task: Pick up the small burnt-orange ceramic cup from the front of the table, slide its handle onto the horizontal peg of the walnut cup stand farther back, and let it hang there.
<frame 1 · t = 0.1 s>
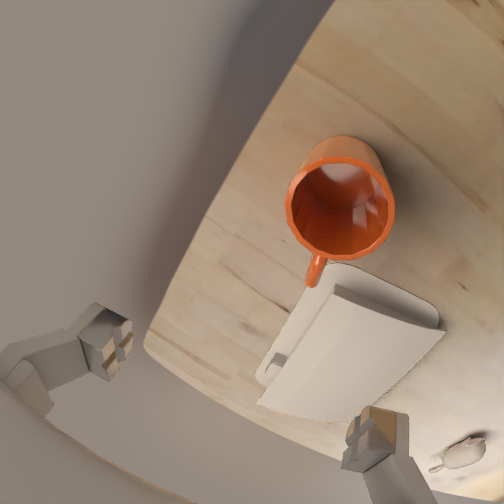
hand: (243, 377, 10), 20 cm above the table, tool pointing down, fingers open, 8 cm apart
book: (339, 354, 35), on the table
cream rounded piece: (458, 445, 39), on the table
cup: (343, 174, 25), on the table
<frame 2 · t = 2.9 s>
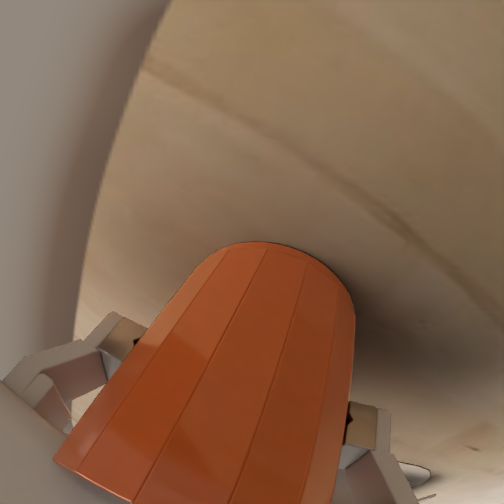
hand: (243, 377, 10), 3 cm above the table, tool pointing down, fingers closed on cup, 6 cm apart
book: (289, 490, 22), on the table
cup: (268, 318, 12), on the table, touching gripper
when the fingers open (11 cm above the table, at t = 12.1 s): cup moves 9 cm and tips over, resting on stand.
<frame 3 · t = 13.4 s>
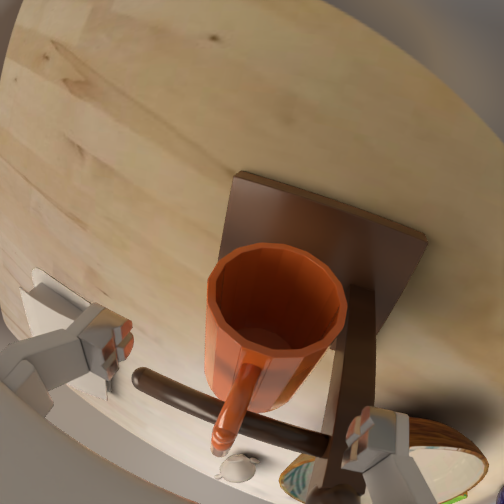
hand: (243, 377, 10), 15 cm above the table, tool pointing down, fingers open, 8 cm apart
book: (72, 337, 43), on the table
bowl: (388, 436, 33), on the table
stand: (298, 265, 25), on the table
cream rounded piece: (241, 459, 46), on the table
cup: (253, 367, 21), point 8 cm above the table, tilted 77°, touching stand
game box: (416, 499, 42), on the table
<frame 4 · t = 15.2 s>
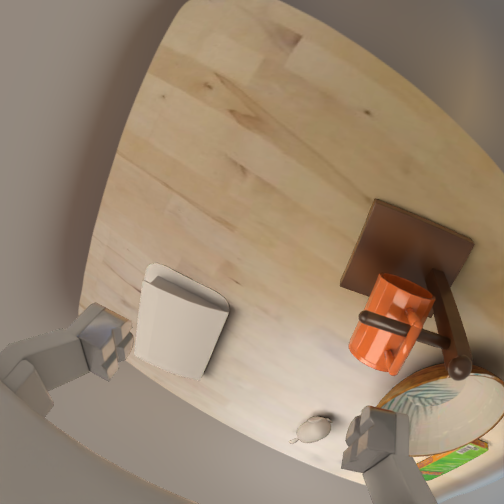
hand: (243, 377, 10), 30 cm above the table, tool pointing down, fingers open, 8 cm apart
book: (177, 324, 55), on the table
bowl: (436, 386, 45), on the table
stand: (399, 257, 37), on the table
cream rounded piece: (313, 423, 58), on the table
cup: (375, 355, 32), point 11 cm above the table, tilted 107°, touching stand
game box: (446, 456, 55), on the table
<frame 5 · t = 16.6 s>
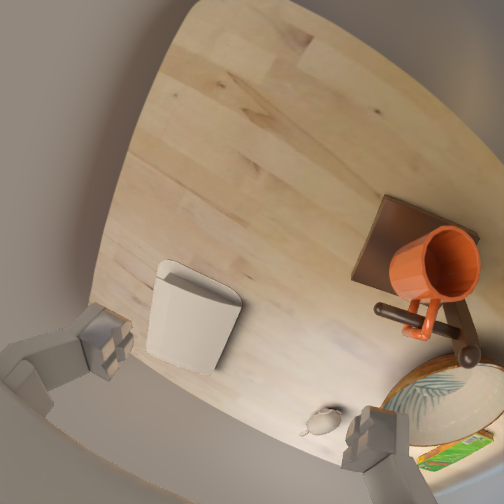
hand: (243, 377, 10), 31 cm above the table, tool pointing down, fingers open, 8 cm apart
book: (189, 320, 56), on the table
bowl: (443, 376, 46), on the table
stand: (408, 251, 38), on the table
cream rounded piece: (323, 415, 60), on the table
cup: (415, 272, 32), point 7 cm above the table, tilted 40°, touching stand
game box: (452, 447, 56), on the table
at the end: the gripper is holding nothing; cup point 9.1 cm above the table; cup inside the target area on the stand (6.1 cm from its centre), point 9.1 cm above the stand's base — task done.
